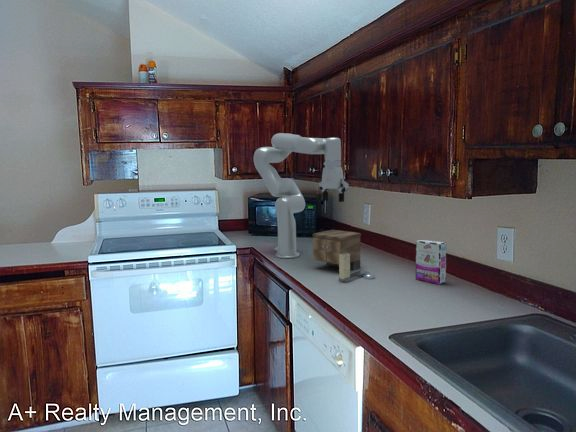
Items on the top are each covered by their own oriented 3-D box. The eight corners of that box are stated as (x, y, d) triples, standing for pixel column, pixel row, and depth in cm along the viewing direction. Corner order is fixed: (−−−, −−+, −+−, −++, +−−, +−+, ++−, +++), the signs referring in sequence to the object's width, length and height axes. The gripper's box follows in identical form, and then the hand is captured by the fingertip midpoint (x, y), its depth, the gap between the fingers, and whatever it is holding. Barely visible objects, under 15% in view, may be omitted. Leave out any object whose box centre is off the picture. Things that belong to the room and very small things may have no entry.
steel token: (364, 280, 179) (364, 276, 178) (361, 277, 184) (361, 273, 183) (376, 279, 179) (376, 275, 179) (372, 276, 184) (372, 272, 184)
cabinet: (311, 268, 199) (311, 234, 197) (333, 262, 210) (333, 229, 208) (339, 274, 187) (339, 238, 185) (361, 267, 198) (361, 233, 196)
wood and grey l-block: (337, 281, 178) (337, 254, 176) (361, 273, 189) (361, 247, 187) (345, 283, 175) (345, 255, 173) (368, 275, 186) (368, 249, 184)
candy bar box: (446, 282, 172) (447, 242, 170) (439, 285, 168) (440, 243, 166) (421, 277, 180) (422, 238, 178) (414, 279, 177) (415, 240, 175)
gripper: (313, 165, 204) (314, 200, 206) (342, 164, 192) (342, 202, 194) (324, 164, 209) (324, 199, 211) (352, 164, 197) (352, 201, 199)
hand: (333, 201), depth 202 cm, fingers open, 9 cm apart
